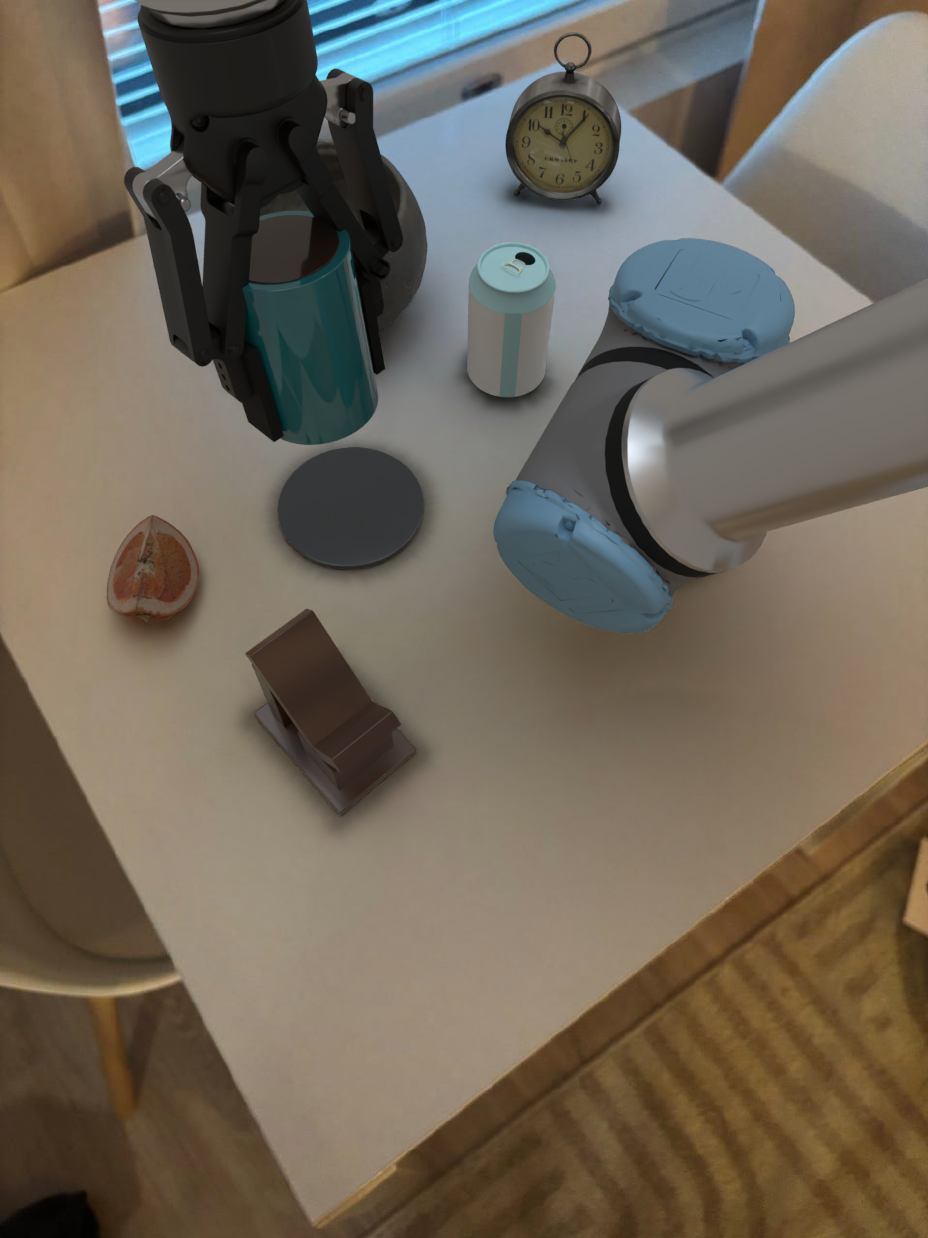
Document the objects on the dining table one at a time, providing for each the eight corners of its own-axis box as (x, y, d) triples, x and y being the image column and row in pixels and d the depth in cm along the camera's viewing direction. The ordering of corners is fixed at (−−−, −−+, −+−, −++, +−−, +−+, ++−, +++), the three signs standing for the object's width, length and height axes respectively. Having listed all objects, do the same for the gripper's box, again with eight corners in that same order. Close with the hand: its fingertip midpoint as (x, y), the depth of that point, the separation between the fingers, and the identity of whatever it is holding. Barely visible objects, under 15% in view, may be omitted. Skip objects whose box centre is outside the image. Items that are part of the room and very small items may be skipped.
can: (468, 342, 87) (470, 233, 77) (544, 345, 87) (557, 236, 77) (465, 401, 84) (467, 295, 73) (544, 403, 84) (558, 298, 73)
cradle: (254, 717, 69) (224, 651, 60) (330, 660, 71) (312, 587, 62) (340, 816, 65) (322, 763, 56) (417, 753, 68) (411, 691, 58)
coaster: (409, 441, 81) (409, 436, 81) (437, 556, 76) (436, 551, 75) (270, 463, 80) (269, 459, 80) (288, 582, 74) (286, 578, 74)
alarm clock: (501, 204, 96) (510, 42, 82) (508, 170, 99) (518, 8, 85) (608, 217, 96) (635, 56, 82) (612, 182, 98) (640, 21, 84)
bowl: (372, 222, 95) (361, 100, 84) (464, 334, 88) (466, 218, 76) (208, 285, 90) (174, 165, 79) (291, 409, 83) (266, 296, 72)
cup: (163, 300, 59) (204, 214, 47) (260, 245, 62) (322, 152, 50) (285, 477, 62) (352, 438, 50) (372, 417, 65) (455, 368, 53)
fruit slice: (194, 641, 72) (177, 609, 67) (105, 640, 72) (83, 608, 67) (209, 549, 76) (194, 513, 71) (125, 548, 76) (105, 512, 71)
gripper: (342, -100, 47) (399, 296, 65) (-34, 52, 39) (150, 451, 58) (446, -67, 43) (474, 342, 62) (55, 107, 36) (220, 513, 54)
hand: (318, 394), depth 60 cm, fingers closed on cup, 8 cm apart
